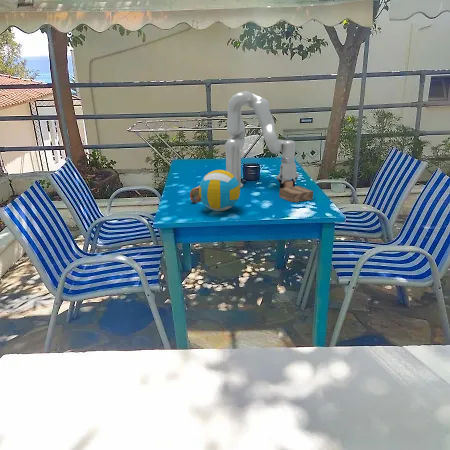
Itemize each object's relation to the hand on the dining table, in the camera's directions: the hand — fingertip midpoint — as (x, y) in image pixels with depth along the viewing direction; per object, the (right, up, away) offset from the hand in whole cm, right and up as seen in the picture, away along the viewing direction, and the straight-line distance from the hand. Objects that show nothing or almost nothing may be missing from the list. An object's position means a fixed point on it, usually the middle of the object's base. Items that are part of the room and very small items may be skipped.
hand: (287, 188), depth 262 cm
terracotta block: (0, -1, 0) cm, 1 cm away
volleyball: (-42, -16, -38) cm, 59 cm away
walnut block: (+2, -8, -17) cm, 19 cm away
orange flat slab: (-55, -9, -20) cm, 59 cm away
